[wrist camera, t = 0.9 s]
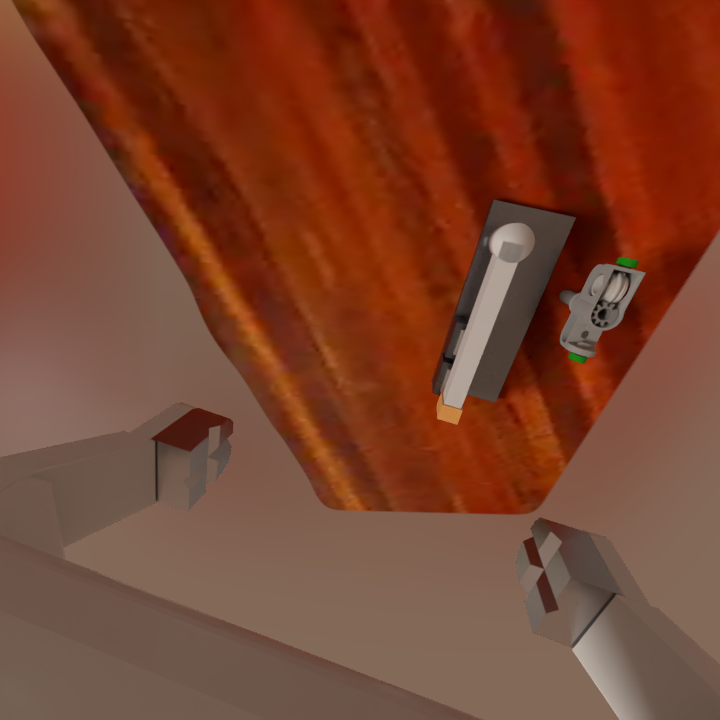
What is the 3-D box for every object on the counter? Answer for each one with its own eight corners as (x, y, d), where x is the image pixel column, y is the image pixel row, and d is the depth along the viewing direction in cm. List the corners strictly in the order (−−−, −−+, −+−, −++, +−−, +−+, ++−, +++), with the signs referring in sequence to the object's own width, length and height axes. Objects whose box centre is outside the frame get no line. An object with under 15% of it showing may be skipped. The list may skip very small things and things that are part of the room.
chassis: (492, 200, 38) (501, 196, 33) (571, 217, 37) (594, 215, 32) (431, 381, 48) (431, 399, 43) (493, 398, 47) (501, 418, 42)
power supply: (455, 315, 43) (457, 323, 39) (485, 323, 42) (491, 331, 39) (444, 347, 44) (445, 357, 41) (473, 355, 44) (477, 366, 41)
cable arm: (496, 219, 34) (502, 218, 31) (531, 227, 33) (541, 227, 30) (432, 403, 43) (432, 417, 40) (459, 411, 42) (462, 425, 39)
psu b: (442, 352, 45) (443, 362, 41) (471, 360, 44) (475, 371, 41) (432, 382, 47) (432, 394, 43) (460, 390, 46) (463, 403, 43)
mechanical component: (536, 331, 43) (565, 359, 33) (573, 249, 38) (617, 256, 29) (559, 337, 42) (595, 367, 33) (599, 255, 38) (652, 264, 29)
